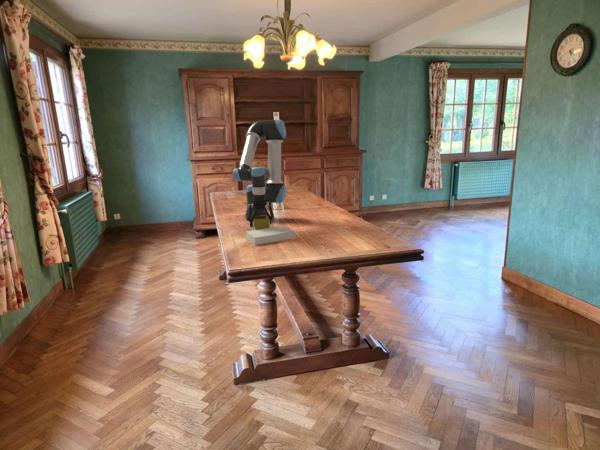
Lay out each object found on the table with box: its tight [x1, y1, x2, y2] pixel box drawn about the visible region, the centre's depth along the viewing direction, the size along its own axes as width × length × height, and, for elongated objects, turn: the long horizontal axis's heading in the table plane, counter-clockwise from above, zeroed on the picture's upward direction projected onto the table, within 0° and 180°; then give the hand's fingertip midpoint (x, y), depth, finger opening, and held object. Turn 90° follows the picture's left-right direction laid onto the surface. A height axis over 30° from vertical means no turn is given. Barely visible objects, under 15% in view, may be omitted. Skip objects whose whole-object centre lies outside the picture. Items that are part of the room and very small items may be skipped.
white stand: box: [245, 225, 296, 246], centre depth 217 cm, size 14×24×4 cm, turn 117°
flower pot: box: [253, 215, 269, 230], centre depth 230 cm, size 9×9×9 cm
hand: (261, 230), depth 231 cm, fingers closed on flower pot, 9 cm apart
